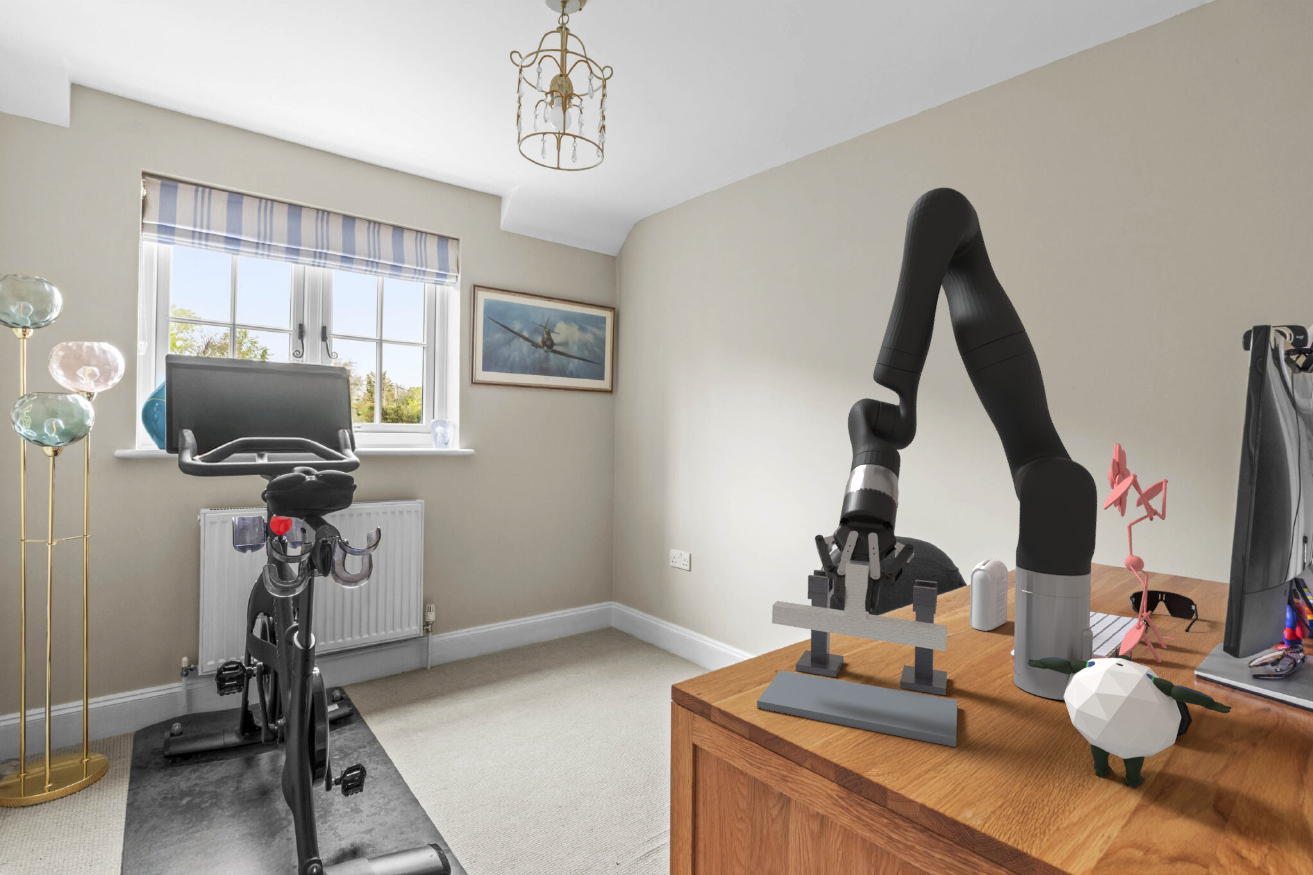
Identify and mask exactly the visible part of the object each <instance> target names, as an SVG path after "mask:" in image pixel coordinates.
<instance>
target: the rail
mask: <svg viewBox="0 0 1313 875" xmlns="http://www.w3.org/2000/svg"><path fill="white" fill-rule="evenodd" d="M870 565H871V562H865V561H856V560H848V561H847V563H846V577H845V586H846V589H845V608H843V610H841V609H836V608H835V609H834V608H830V609H829V608H822V607H815V606H811V605H809V604H801V603H794V602H787V601H779V600H776V601H775V602H774V603H773V604H772V607H771V608H772V609H771V610H772V611H771V612H772V613H771V614H772V616H771V624H774V625H779V626H780V625H781V626H786V627H793V628H797V629H798V628H800V629H806V630H810V631H811V630H817V631H823V632H829V633H831V634H836V635H841V636H842V635H843V636H849V637H854V638H862V639H867V640H868V639H869V640H874V641H880V642H887V643H893V644H899V645H906V646H910V647H915V646H916V647H923V648H929V649H934V651H935V650H936V651H941V652H942V651H943V652H947V637H948V636H947V635H948V634H947V633H948V625H944V624H937V623H934V624H932V623H925V622H918V621H915V620H911V619H904V618H896V617H889V616H882V615H876V614H870V612H866V610H865V599H866V592H867V588H868V580H870V576H871V573H870Z"/></svg>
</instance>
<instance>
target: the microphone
mask: <svg viewBox="0 0 1313 875" xmlns="http://www.w3.org/2000/svg"><path fill="white" fill-rule="evenodd" d="M1175 701H1176V700H1175ZM1176 703H1177V706H1178V709H1179V712H1180V714H1181V720H1180V724H1179V728H1178V732H1177V736H1176V738H1179V737H1181V736H1183V735H1187V732H1188V731H1189V728H1190V727H1191V724H1192V722H1193V719H1192V716H1191V713H1190V711H1189V708H1188V706H1187V703H1184V702H1179V701H1176Z"/></svg>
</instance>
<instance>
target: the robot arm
mask: <svg viewBox="0 0 1313 875" xmlns="http://www.w3.org/2000/svg"><path fill="white" fill-rule="evenodd" d="M905 228H906V229H905V236H904V244H903V245H904V246H903V253H902V261H901V267H900V272H899V277H898V283H897V288H896V292H895V296H894V300H893V305H892V308H891V312H890V315H889V319H888V322H887V325H886V329H885V333H884V335H883V339H882V342H881V346H880V349H879V352H878V356H877V360H876V363H875V367H874V370H873V374H872V375H873V376H872V378H873V381H874V382H875V383H876V384H878V385H880V386H881V387H884V388H886V389H888V390H890V391H893V393H895V394H896V395H897V396H898V400H899V402H898V404H894V403H891V402H886V401H882V400H877V399H873V398H869V397H865V398H862V399H859V400H858V401H856V402H855V403H853V405H852V407H851V408H850V410H849V412H848V417H847V429H848V437H849V440H850V444H851V449H852V451H851V452H852V461H851V466H850V472H849V477H848V479H847V482H846V484H845V491H844V495H843V501H842V507H841V511H840V517H839V518H840V519H839V522H838V523H839V524H838V527H837V528H836V530H835V531H833V533H832V534H833V535H830V536H825V537H824V536H823V535H822V534H817V535H815V537H814V541H815V546H816V550H817V553H818V556H819V558H820V562H821V565H822V567H823V570H824V571H825V574H826V577H827V578H828V579H834V581H835V584H834V594H833V596H834V601H835V604H838V608H839V609H844V608H845V589H846V586H845V577H846V563H847V561H848V560H856V561H865V562H871V565H870V580H868V588H867V592H866V599H865V610H866V612H869V613H872V612H873V609H875V610H876V609H877V608H878V606H879V599H880V590H881V589H882V587H890V588H893V587H895V586H896V585H897V583H898V582H899V581H900V579H901V578H902V576H903V575H904V574H905V572H906V571H907V569H908V568H909V567H910V566H911V564H912V563H913V561H914V559H915V547H914V545H913V544H911V543H907V544H903V543H901V542H899V541H897V540H898V539H897V537H896V535H895V532H896V531H895V530H896V522H897V511H898V508H899V495H900V494H899V493H900V492H899V491H900V490H899V479H900V471H901V455H900V452H899V451H901V450H904V449H906V448H908V447H909V446H910V445H911V444H912V442H914V439H915V437H916V434H917V425H918V424H917V423H918V422H917V418H918V417H917V416H918V415H917V414H918V413H917V412H918V411H917V403H918V402H917V400H918V390H919V385H920V380H921V377H922V373H923V370H924V366H925V364H926V360H927V357H928V354H929V351H930V347H931V343H932V339H933V333H934V328H935V321H936V319H935V318H936V313H937V308H938V307H937V306H938V302H939V296H940V294H941V293H940V292H941V288H942V289H943V291H944V294H945V298H946V301H947V304H948V305H947V306H948V311H949V316H950V322H951V327H952V332H953V336H954V340H955V343H956V346H957V350H958V354H959V356H960V358H961V360H962V363H963V366H964V368H965V371H966V373H967V374H968V378H969V380H970V381H971V384H972V387H973V388H974V391H975V393H976V394H977V396H978V399H979V401H980V403H981V405H982V406H983V408H984V410H985V412H986V414H987V415H988V417H989V419H990V421H991V423H992V424H993V426H994V428H995V430H996V431H997V434H998V436H999V439H1000V441H1001V444H1002V447H1003V450H1004V454H1005V457H1006V460H1007V465H1008V466H1009V467H1008V468H1009V470H1010V475H1011V478H1012V483H1013V488H1014V491H1015V495H1016V497H1017V500H1018V501H1019V520H1018V521H1019V523H1018V525H1019V526H1018V527H1019V528H1018V538H1017V545H1016V548H1015V579H1014V580H1015V582H1014V583H1015V586H1014V588H1015V589H1014V590H1015V591H1014V596H1015V597H1014V638H1013V639H1014V640H1013V646H1014V648H1013V649H1014V650H1013V654H1014V655H1013V683H1014V685H1015V686H1017V687H1018V688H1020V689H1021V690H1022V691H1025V692H1027V693H1030V694H1033V695H1034V696H1035V695H1036V696H1038V697H1042V698H1048V699H1052V700H1053V699H1054V700H1061V701H1065V700H1064V694H1065V691H1066V688H1067V685H1068V681H1069V678H1070V675H1071V674H1064V673H1060V672H1057V671H1054V670H1050V669H1040V668H1037V667H1032V666H1029V665H1028V662H1029V659H1031V660H1040V659H1041V658H1048V657H1050V658H1061V659H1066V660H1068V661H1073V660H1081V661H1086V662H1088V661H1089V660H1091V659H1093V651H1094V650H1093V648H1094V646H1093V643H1094V642H1093V641H1094V640H1093V639H1094V634H1093V633H1094V632H1093V631H1092V629H1091V589H1092V588H1091V586H1092V585H1091V584H1092V583H1091V579H1092V578H1091V577H1092V573H1091V572H1092V560H1093V557H1094V554H1095V550H1096V541H1097V540H1096V539H1097V537H1096V536H1097V521H1098V518H1097V516H1098V491H1097V485H1096V481H1095V479H1094V477H1093V476H1092V474H1091V473H1090V471H1089V470H1088V469H1087V468H1086V467H1085V466H1083V465H1082V464H1080V463H1078V462H1077V461H1076V460H1075V461H1074V460H1073V459H1072V457H1071V455H1070V454H1069V452H1068V451H1067V449H1066V447H1065V445H1064V443H1063V441H1062V439H1061V437H1060V435H1059V434H1058V431H1057V430H1056V427H1055V425H1054V423H1053V420H1052V416H1051V413H1050V410H1049V404H1048V398H1047V394H1046V388H1045V385H1044V379H1043V375H1042V371H1041V370H1042V369H1041V366H1040V363H1039V360H1038V357H1037V354H1036V352H1035V349H1034V347H1033V346H1034V345H1033V344H1032V342H1031V339H1030V337H1029V335H1028V332H1027V331H1026V328H1025V325H1024V324H1023V322H1022V320H1021V318H1020V315H1019V314H1018V311H1017V310H1016V308H1015V306H1014V304H1013V303H1012V301H1011V299H1010V297H1009V296H1008V294H1007V292H1006V291H1005V289H1004V287H1003V286H1002V284H1001V283H1000V281H999V279H998V277H997V275H996V273H995V271H994V268H993V265H992V263H991V260H990V256H989V254H988V251H987V246H986V244H985V239H984V236H983V233H982V228H981V224H980V219H979V216H978V213H977V211H976V209H975V207H974V205H973V204H972V203H971V202H970V200H969V199H968V198H967V197H966V195H964V194H963V193H962V192H960V191H959V190H956V189H954V188H950V187H938V188H937V187H936V188H934V189H931V190H928V191H926V192H924V193H923V194H921V196H920V197H918V198H917V199H916V200H915V202H914V203H913V204H912V206H911V208H910V210H909V213H908V215H907V221H906V227H905ZM834 545H835V546H836V547H837V549H838V550H839V551H840V554H841V556H840V562H839V565H838V566H836V565H834V562H833V560H832V556H831V552H833V546H834ZM893 552H894V559H893V561H892V562H891V564H890V565H889V566H888V567H887V569H886V570H885V571H882V572H881V566H880V565H881V562H883V561H884V560H885V559H887V557H888V556H890V555H891V554H892V553H893Z"/></svg>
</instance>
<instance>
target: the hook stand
mask: <svg viewBox="0 0 1313 875" xmlns="http://www.w3.org/2000/svg"><path fill="white" fill-rule="evenodd" d="M914 581H915V582H914V585H912V612H914V613H915V619H914V621H918V622H925V623H932V624H935V615H936V612H937V607H938V581H932V580H921V579H915V580H914ZM834 582H835V580H834V579H828V578H827V577H826V574H825V571H824V569H814V570H813V574H809V575H807V599H808V600H811V604H810V606H815V607H822V608H829V609H831V598H832V596H834V590H835V583H834ZM830 635H831V634H830V633H829V632H823V631H817V630H811V629H810V650H808V649H807V650H804V651H803V654H802V655H801V656H800V657H799V659H798V660H797V662H796V663H795V672H802V673H806V674H807V673H808V674H812V675H813V674H814V675H819V676H823V677H830V678H836V677H837V676H838V674H839V672H840V670H841V668H842V666H843V664H844V663H845V662H844V660H845V657H844V655H840V654H833V653H830V642H831V640H830V639H831V636H830ZM934 651H935V649H929V648H923V647H916V646H914V666H912V665H907V664H906V665H905V664H904V665H903V668H902V671H901V672H902V673H901V676H900V680H899V688H900V689H902V690H909V691H915V692H922V693H928V694H932V695H940V696H946V695H947V682H948V671H945V670H938V669H934V657H935V656H934V653H935V652H934Z"/></svg>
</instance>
